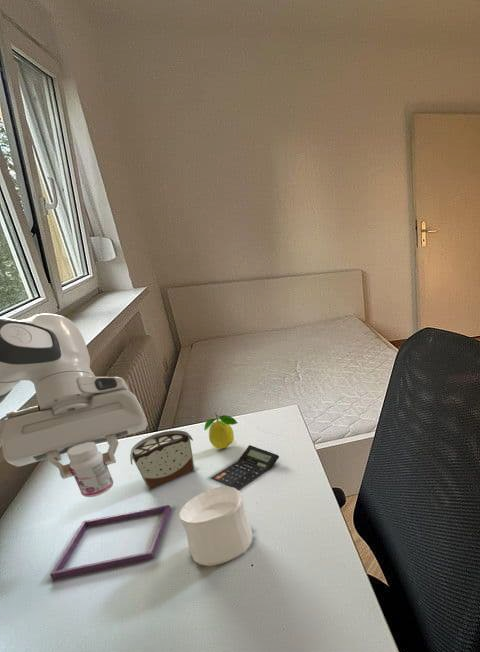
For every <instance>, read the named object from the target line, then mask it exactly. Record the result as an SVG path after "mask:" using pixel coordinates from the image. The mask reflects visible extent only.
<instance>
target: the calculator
mask: <svg viewBox="0 0 480 652" xmlns="http://www.w3.org/2000/svg"><path fill="white" fill-rule="evenodd" d="M279 458H280V456H279V454H276V453H273V452H271V451H268V450H265V449H262V448H259V447H257V446H253V445H251V444H249V445H248V446H247V447H246V449H245V450H244V452H243V453H242V455H240V457H239V458H238V460H237V461H236V462H234V463H232V464H230V465H229V466H227V467H226V468H224V469H222V470H221V471H219V472H217V473H216V474H215V475H212V476H211V477H210V480H214V481H215V482H217V483H220V484H222V485H225V486H226V487H233V488H235V489H237V490H238V491H240V490H242V489H244V488H245V487H246V486H248V485H249V484H250V483H252V482H254V481H255V480H257V479H258V478H260V477H261V476H263V475H264V474H266V473H267V472H268V471H270V470H271V469H273V467H274V466H275V464H276V462H278V460H279Z"/></svg>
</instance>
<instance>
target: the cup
mask: <svg viewBox="0 0 480 652" xmlns="http://www.w3.org/2000/svg"><path fill="white" fill-rule="evenodd" d="M178 519H179V522H180V523H181V525H182V527H183V529H184V531H185V533H186V538H187V544H188V548H189V552H190V554H191V556H192V560H193V561H194V562H195V563H197V564H198V565H200V566H206V567H210V566H212V567H213V566H216V565H217V566H218V565H221V564H224V563H226V562H229V561H231V560H233V559H235V558H237V557H240V555H242V554H243V553H245V552H246V551H247V550H248V549H249V548H250V546H251V544H252V542H253V530H252V527H251V523H250V520H249V517H248V514H247V512H246V509H245V506H244V498H243V495H242V493H241V491H240V490H239V491H238V490H237V489H235V488H233V487H229V486H218V487H215V488H211V489H208V490H205V491H203V492H200V493H199V494H197V495H195V496H193V497H192V498H191V499H190V500H188V501H187V502H186V503H184V505H183V506H182V507H181V509H180V512H179V514H178Z"/></svg>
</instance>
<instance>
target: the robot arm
mask: <svg viewBox="0 0 480 652" xmlns="http://www.w3.org/2000/svg"><path fill="white" fill-rule="evenodd" d="M21 381H30V382H31V383H32V384H33V385H34V390H35V394H36V399H37V402H38V405H36V406H30V407H28V408H23V409H21V410H17V411H16V410H14V411H11V412H8V413H6V414H5V416H3V417H1V418H0V438H1V447H2V455H3V459H4V460H5V461H6V462H7V463H8V464H10V465H12V466H14V467H22V466H27V465H30V464H34V463H37V462H40V461H43V460H47V461H48V462H50V463H51V464H52V465H53V466H54V467H56V468H57V469H58V471H59V476H60V477H61V478H62V479H63V480H65V479H68V478H72V477H74V475H73V473H72V471H71V469H70V466H69V463H67V464H62V463H61V462H60V461H62V456H61V455H65V454H67V451H68V450H69V449H70V448H71V447H73V446H75V445H77V444H80V443H84V442H94V443H95V444H96V445H99V444H102V443H106V442H107V444H108V449H107V451H106V452H104V453H102V455H103V458H104V462H105V464H106V465H107V466H109V465H110V466H111V465H112V464H113V465H114V464H116V463H117V460H116V456H115V453H116V451H117V448H118V446H119V440H118V439H120V438H122V437H127V436H129V435H134V434H137V433H140V432H143V431H145V430H146V429H147V427H148V425H149V423H148V420H147V417H146V415H145V412H144V409H143V408H142V406H141V403H140V402H139V400H138V398H137V396H136V395H135V394H134V393H133V392H132V391H130V388H129V386H128V384H127V382H126V380H125V379H124V378H123V377H119V376H96V375H95V373H94V372H93V370H92V369H91V357H90V353H89V350H88V346H87V344H86V341H85V339H84V336H83V334H82V332H81V331H80V330H79V328H78V326H77V325H76V324H75V323H74V322H73V321H72V320H71V319H69V318H68V317H65V316H63V315H59V314H55V313H40V314H35V315H33V316H30V317H29V318H26V319H13V318H7V317H0V404H1V403H2V402H3V401H4V400H5V399H6V398H7V397H8V395H9V394H10V393H11V392H12V390H13V388H14V387H16V386H17V385H18V384H19V383H20V382H21Z"/></svg>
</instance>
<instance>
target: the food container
mask: <svg viewBox="0 0 480 652" xmlns="http://www.w3.org/2000/svg"><path fill="white" fill-rule="evenodd" d="M193 441H194V439H193V437H192V436H191V434H190V433H189V432H187V431H185V430H179V429H176V430H175V429H174V430H165V431H162V432H157V433H154V434H151V435H149V436H147V437H144V438H142V439H141V440H139V441H138V442H137V443H135V444H134V445H133V446H132V448H131V450H130V454H129V456H130V457H129V459H130V465H133V461H134V465H135V466H136V468H137V470H138V471H139V474H140V476H141V477H142V480H143V482H144V483H145V486H146V487H147V489H148V491H151V490H152V489H155V488H158V487H159V486H162V485H164V484H166V483H169V482H171V481H174V480H175V479H177V478H178V479H179V478H180V477H183V476H185V475H186V474H189V473H191V472H194V471H196V469H195V463H194V457H193V450H192V444H191V442H193Z"/></svg>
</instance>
